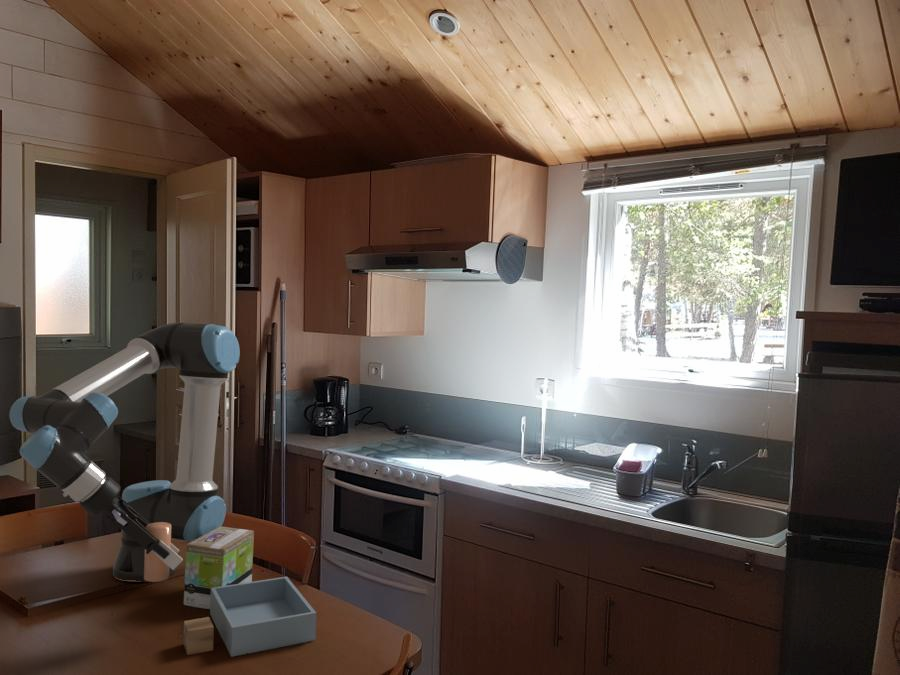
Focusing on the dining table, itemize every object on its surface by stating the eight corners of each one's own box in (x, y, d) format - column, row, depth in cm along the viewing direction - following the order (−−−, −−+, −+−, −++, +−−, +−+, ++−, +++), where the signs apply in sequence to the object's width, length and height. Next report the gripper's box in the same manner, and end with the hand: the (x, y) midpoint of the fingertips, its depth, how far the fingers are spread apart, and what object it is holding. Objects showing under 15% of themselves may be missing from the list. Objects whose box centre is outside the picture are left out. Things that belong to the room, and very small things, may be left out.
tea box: (222, 612, 168) (223, 548, 167) (182, 606, 170) (184, 543, 169) (253, 587, 182) (254, 528, 182) (216, 582, 184) (217, 524, 184)
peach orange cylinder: (142, 574, 155) (144, 523, 155) (167, 571, 158) (169, 521, 157) (144, 583, 151) (147, 530, 150) (170, 580, 153) (172, 528, 153)
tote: (210, 613, 166) (210, 587, 166) (286, 601, 175) (286, 576, 175) (231, 656, 148) (232, 627, 147) (315, 640, 156) (316, 612, 156)
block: (183, 644, 152) (184, 621, 152) (208, 640, 154) (208, 616, 154) (187, 655, 148) (188, 631, 147) (213, 650, 150) (213, 626, 150)
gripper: (76, 491, 154) (157, 558, 163) (78, 516, 138) (167, 589, 147) (105, 464, 156) (183, 533, 165) (109, 486, 140) (196, 560, 149)
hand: (176, 559), depth 156 cm, fingers closed on peach orange cylinder, 5 cm apart
